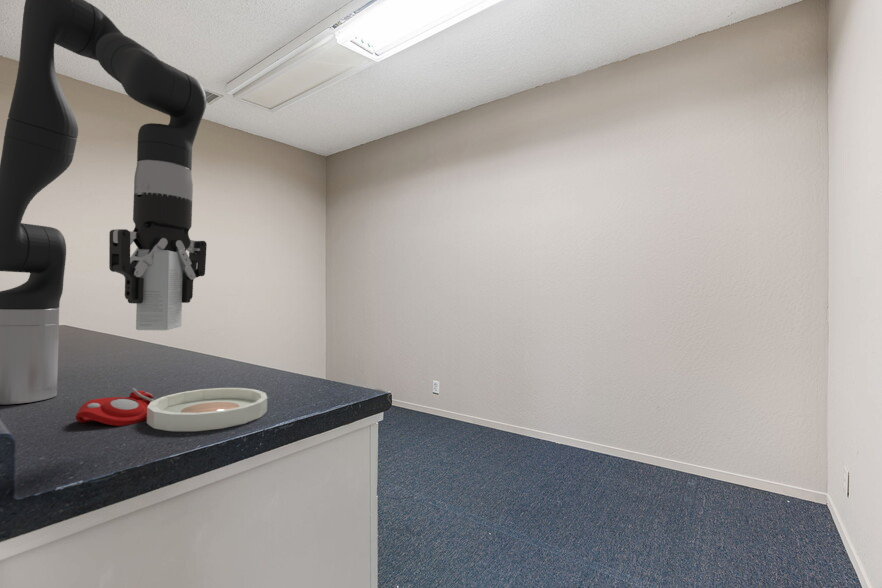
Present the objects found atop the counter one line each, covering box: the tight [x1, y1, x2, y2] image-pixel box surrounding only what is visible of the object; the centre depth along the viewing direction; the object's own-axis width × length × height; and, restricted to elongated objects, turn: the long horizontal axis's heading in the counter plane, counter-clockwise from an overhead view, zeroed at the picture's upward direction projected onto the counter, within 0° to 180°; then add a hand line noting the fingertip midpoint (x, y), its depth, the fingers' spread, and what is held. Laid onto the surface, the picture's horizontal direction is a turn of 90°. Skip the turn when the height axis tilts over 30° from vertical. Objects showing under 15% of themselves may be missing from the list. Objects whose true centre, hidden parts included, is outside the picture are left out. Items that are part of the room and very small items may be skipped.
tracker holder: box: [75, 387, 155, 427], centre depth 70 cm, size 12×4×10 cm
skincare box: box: [135, 249, 183, 331], centre depth 64 cm, size 6×4×12 cm
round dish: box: [146, 387, 268, 432], centre depth 73 cm, size 18×18×3 cm
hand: (160, 302), depth 64 cm, fingers closed on skincare box, 7 cm apart
